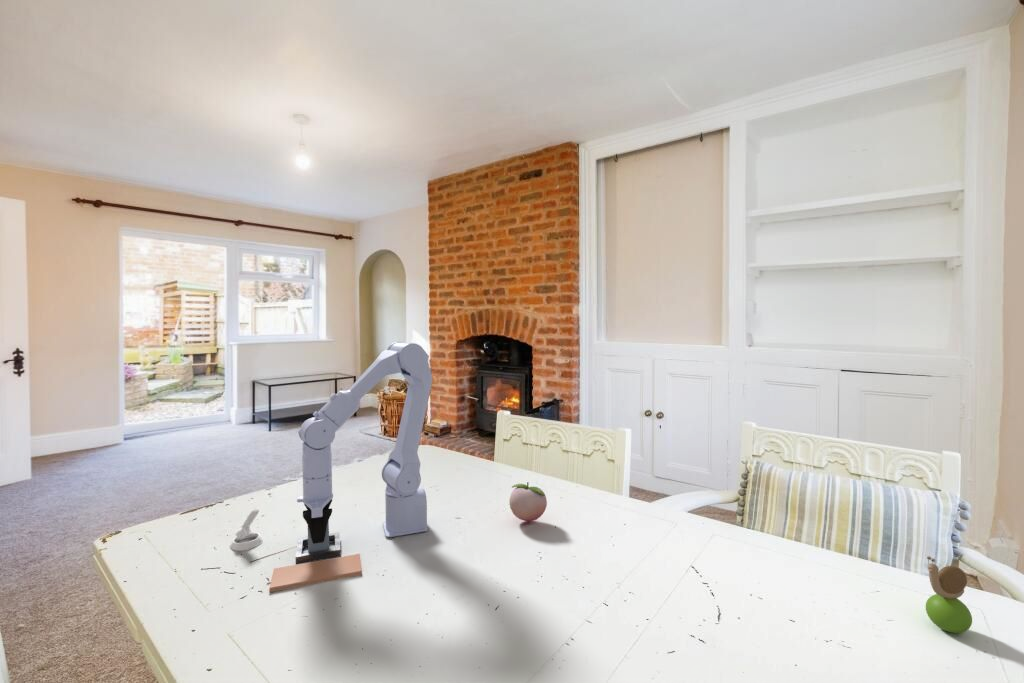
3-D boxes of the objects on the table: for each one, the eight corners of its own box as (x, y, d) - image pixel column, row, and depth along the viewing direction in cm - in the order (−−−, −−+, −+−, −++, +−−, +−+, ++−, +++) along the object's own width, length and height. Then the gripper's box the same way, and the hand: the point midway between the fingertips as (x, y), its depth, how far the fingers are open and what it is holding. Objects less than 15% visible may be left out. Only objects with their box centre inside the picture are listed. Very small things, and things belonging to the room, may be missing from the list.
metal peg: (329, 545, 102) (328, 509, 102) (328, 553, 98) (328, 516, 98) (309, 548, 101) (308, 512, 100) (308, 557, 97) (307, 519, 96)
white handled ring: (270, 531, 99) (244, 519, 98) (247, 565, 101) (221, 553, 99) (281, 513, 105) (257, 501, 104) (259, 545, 107) (235, 533, 105)
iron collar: (339, 538, 105) (339, 532, 105) (340, 556, 97) (340, 549, 97) (298, 545, 102) (298, 538, 102) (295, 564, 94) (295, 557, 94)
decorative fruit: (503, 526, 111) (502, 485, 111) (515, 513, 119) (515, 474, 118) (540, 533, 108) (540, 491, 107) (550, 519, 115) (551, 479, 115)
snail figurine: (910, 619, 77) (913, 549, 76) (945, 617, 77) (949, 547, 77) (943, 642, 71) (946, 566, 71) (981, 640, 72) (985, 564, 71)
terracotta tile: (359, 557, 97) (359, 553, 97) (361, 574, 90) (361, 570, 90) (273, 572, 91) (273, 568, 91) (269, 592, 84) (269, 587, 84)
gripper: (298, 466, 104) (300, 526, 105) (294, 488, 90) (295, 557, 91) (332, 463, 107) (333, 521, 107) (332, 484, 93) (334, 550, 94)
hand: (318, 537), depth 99 cm, fingers closed on metal peg, 4 cm apart
